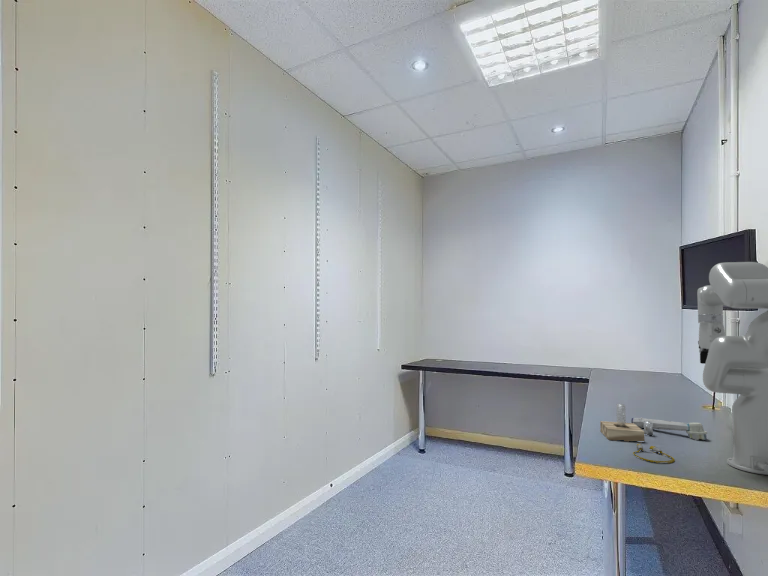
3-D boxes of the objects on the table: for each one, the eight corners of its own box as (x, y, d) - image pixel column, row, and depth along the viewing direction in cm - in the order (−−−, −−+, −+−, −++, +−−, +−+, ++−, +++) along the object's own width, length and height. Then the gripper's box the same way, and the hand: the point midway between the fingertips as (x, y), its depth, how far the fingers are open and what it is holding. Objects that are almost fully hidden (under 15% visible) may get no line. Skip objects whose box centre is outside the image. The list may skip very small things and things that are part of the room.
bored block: (644, 442, 154) (644, 431, 154) (608, 439, 157) (608, 428, 157) (634, 433, 165) (633, 423, 166) (600, 431, 168) (600, 421, 169)
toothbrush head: (634, 416, 179) (706, 419, 160) (637, 432, 178) (709, 438, 159) (629, 418, 175) (702, 421, 157) (632, 434, 174) (706, 440, 156)
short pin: (654, 436, 162) (653, 423, 162) (645, 435, 163) (645, 422, 163) (651, 434, 165) (651, 421, 165) (642, 433, 166) (642, 420, 166)
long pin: (627, 438, 159) (626, 405, 160) (618, 437, 160) (617, 405, 161) (624, 435, 162) (624, 404, 163) (616, 435, 163) (615, 403, 164)
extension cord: (679, 455, 141) (679, 449, 141) (670, 468, 129) (670, 461, 130) (637, 447, 149) (637, 441, 149) (626, 458, 138) (626, 452, 138)
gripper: (735, 319, 151) (737, 368, 150) (709, 319, 168) (711, 362, 167) (711, 319, 152) (712, 367, 151) (688, 319, 169) (689, 362, 168)
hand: (711, 365), depth 159 cm, fingers open, 9 cm apart
